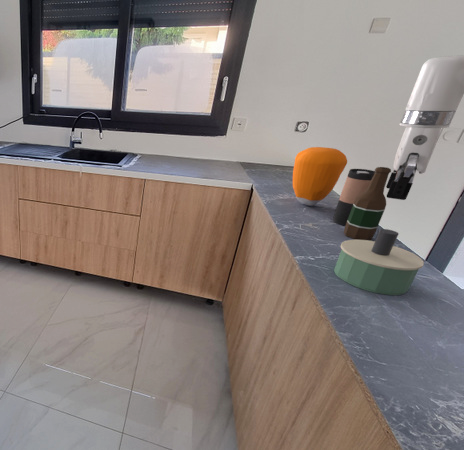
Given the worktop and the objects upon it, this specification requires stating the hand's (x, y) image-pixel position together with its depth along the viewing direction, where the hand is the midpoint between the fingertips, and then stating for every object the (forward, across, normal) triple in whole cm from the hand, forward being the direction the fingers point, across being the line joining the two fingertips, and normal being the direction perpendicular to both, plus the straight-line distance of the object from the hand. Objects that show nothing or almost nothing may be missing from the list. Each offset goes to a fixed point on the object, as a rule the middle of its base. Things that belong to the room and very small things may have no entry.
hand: (395, 193), depth 75 cm
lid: (+16, +1, -2) cm, 17 cm away
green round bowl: (+24, +1, -2) cm, 24 cm away
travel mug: (+24, +45, +6) cm, 51 cm away
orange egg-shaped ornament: (+24, +60, +20) cm, 68 cm away
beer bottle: (+24, +33, +2) cm, 41 cm away
